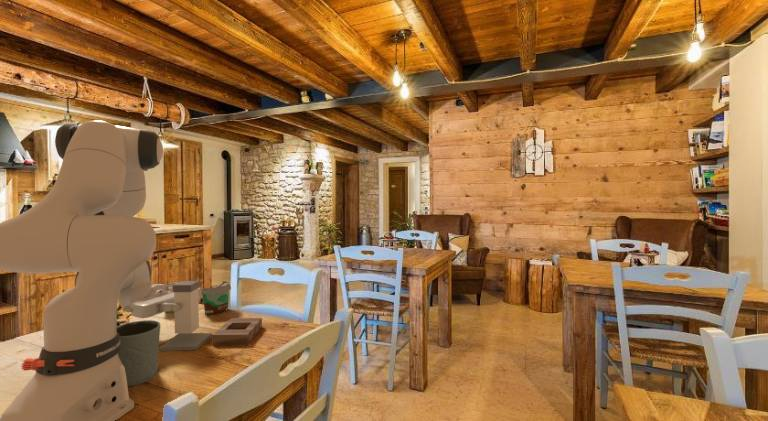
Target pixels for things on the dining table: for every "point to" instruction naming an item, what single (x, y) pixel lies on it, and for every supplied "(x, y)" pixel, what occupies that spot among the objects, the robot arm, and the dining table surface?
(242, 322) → the socket block
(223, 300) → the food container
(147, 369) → the grey green bucket
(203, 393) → the dining table surface
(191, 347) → the mat
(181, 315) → the plug
